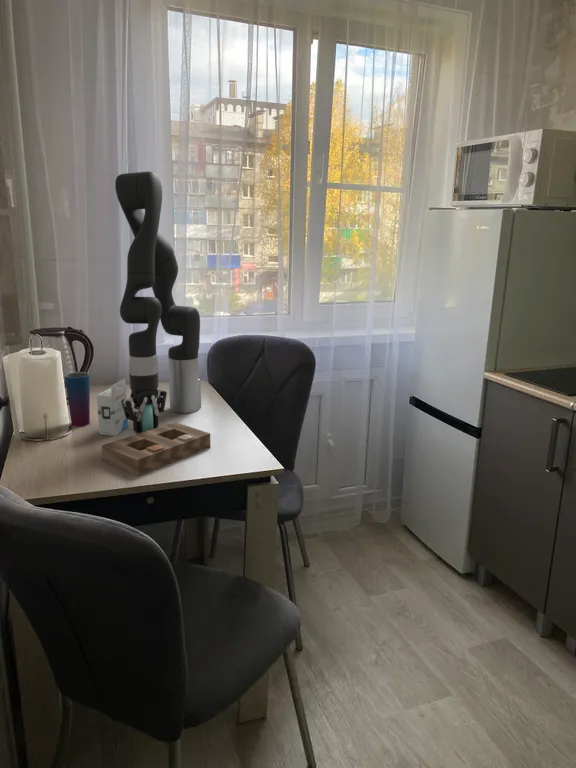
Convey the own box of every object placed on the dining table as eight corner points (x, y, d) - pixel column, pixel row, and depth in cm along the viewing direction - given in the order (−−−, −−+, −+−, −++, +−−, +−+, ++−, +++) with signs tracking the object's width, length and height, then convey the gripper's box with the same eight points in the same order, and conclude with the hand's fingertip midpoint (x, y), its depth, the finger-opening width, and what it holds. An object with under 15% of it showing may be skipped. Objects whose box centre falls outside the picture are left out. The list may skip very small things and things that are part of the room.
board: (175, 435, 163) (175, 420, 162) (210, 447, 155) (210, 431, 154) (102, 460, 145) (101, 443, 144) (138, 475, 137) (137, 457, 136)
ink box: (113, 425, 170) (110, 376, 166) (128, 426, 169) (126, 378, 166) (98, 434, 162) (95, 384, 158) (114, 436, 161) (111, 385, 157)
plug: (147, 435, 163) (146, 401, 160) (156, 438, 161) (155, 404, 158) (136, 438, 160) (134, 404, 157) (145, 442, 158) (143, 407, 155)
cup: (70, 428, 166) (66, 378, 162) (66, 421, 172) (63, 373, 168) (94, 425, 169) (91, 376, 165) (90, 418, 175) (87, 371, 171)
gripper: (155, 364, 163) (157, 421, 167) (112, 373, 152) (116, 434, 156) (173, 368, 158) (175, 427, 163) (130, 378, 148) (133, 440, 152)
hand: (146, 430), depth 160 cm, fingers open, 5 cm apart
